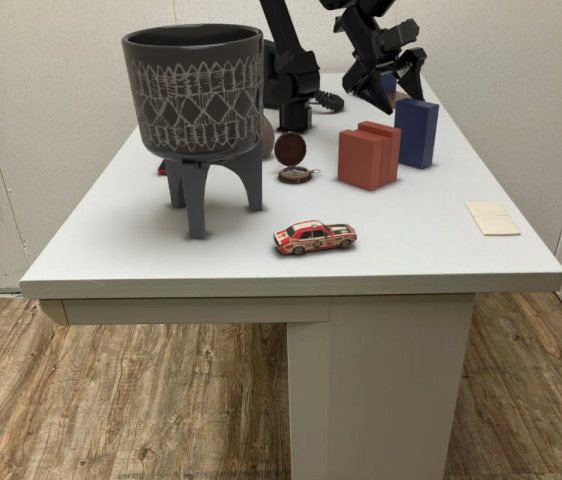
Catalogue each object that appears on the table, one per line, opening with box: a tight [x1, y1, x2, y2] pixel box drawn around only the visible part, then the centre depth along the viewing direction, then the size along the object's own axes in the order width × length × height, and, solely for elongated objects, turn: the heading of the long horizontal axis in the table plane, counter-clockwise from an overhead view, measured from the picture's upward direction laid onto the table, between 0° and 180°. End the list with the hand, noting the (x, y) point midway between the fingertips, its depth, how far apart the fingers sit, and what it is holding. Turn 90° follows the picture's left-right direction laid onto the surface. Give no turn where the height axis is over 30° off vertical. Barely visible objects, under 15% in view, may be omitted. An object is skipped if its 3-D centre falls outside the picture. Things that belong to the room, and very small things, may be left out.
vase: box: [262, 114, 276, 160], centre depth 120 cm, size 7×7×9 cm
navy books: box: [360, 54, 400, 93], centre depth 155 cm, size 8×6×11 cm
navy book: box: [393, 98, 440, 170], centre depth 114 cm, size 8×3×11 cm, turn 42°
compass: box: [273, 131, 322, 184], centre depth 111 cm, size 8×8×7 cm
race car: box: [272, 219, 358, 256], centre depth 88 cm, size 5×12×5 cm, turn 99°
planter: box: [120, 22, 265, 239], centre depth 91 cm, size 20×20×26 cm
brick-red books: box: [337, 120, 401, 192], centre depth 108 cm, size 8×7×9 cm
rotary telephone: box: [264, 38, 345, 112], centre depth 153 cm, size 33×22×15 cm, turn 58°
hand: (407, 108), depth 113 cm, fingers open, 9 cm apart
